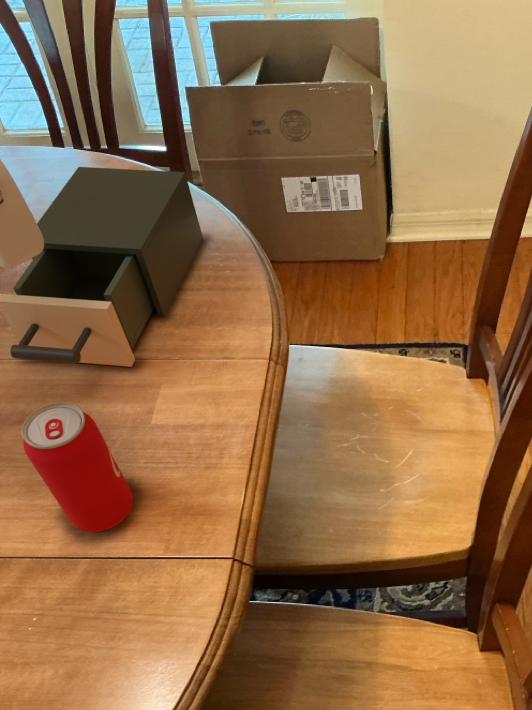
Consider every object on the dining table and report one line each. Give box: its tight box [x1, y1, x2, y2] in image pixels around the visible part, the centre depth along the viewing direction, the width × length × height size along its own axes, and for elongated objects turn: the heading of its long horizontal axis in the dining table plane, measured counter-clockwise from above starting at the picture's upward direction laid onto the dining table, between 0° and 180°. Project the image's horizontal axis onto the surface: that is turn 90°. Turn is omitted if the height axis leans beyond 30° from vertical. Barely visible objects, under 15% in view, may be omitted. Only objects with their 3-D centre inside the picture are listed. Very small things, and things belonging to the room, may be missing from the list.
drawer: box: [0, 249, 155, 368], centre depth 85 cm, size 19×12×8 cm, turn 172°
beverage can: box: [21, 401, 134, 533], centre depth 70 cm, size 6×6×12 cm
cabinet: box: [31, 166, 204, 317], centre depth 92 cm, size 16×14×10 cm
